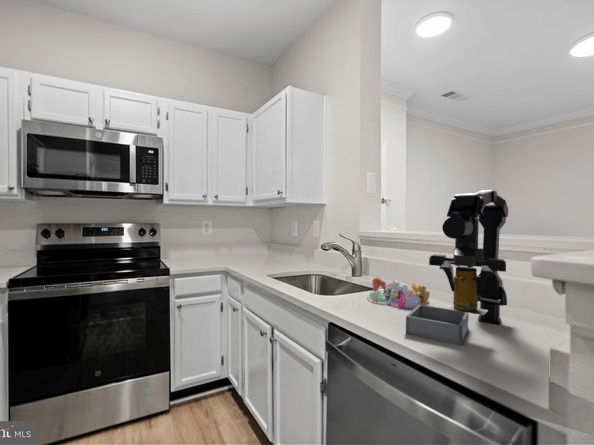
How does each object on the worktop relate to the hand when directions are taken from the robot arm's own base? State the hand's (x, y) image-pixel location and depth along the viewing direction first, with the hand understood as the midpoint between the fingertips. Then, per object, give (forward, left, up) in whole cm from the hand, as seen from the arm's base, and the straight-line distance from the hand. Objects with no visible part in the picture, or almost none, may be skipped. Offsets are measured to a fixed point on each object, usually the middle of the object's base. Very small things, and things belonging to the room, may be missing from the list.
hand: (465, 292), depth 88 cm
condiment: (0, +1, -5) cm, 5 cm away
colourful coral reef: (-30, -27, -14) cm, 43 cm away
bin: (-2, -7, -13) cm, 15 cm away
